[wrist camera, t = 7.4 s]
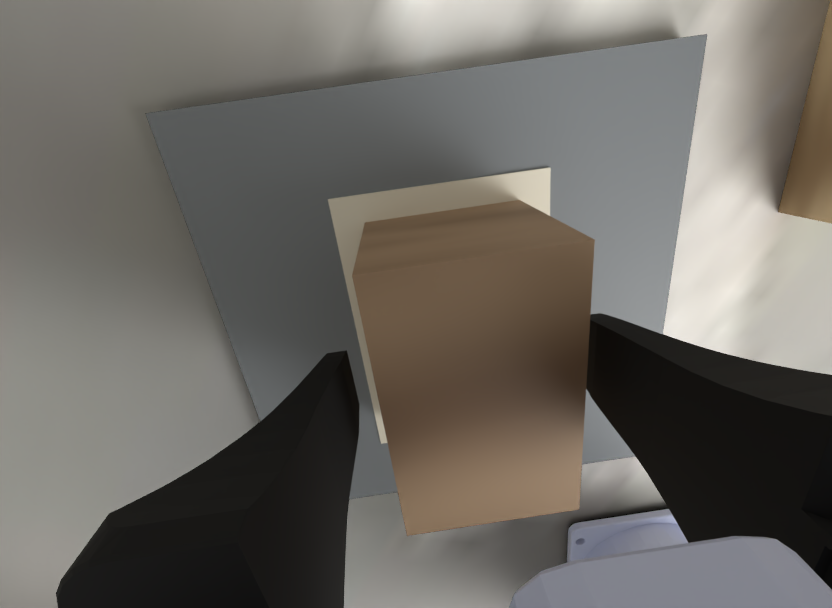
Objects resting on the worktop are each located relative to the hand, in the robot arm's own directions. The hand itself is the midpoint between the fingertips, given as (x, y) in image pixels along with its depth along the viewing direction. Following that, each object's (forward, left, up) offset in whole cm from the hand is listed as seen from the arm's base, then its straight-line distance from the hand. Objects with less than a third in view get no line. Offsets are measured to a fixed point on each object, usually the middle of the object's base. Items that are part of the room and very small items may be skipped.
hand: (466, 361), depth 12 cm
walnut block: (0, 0, -2) cm, 2 cm away
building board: (0, 0, -3) cm, 3 cm away
